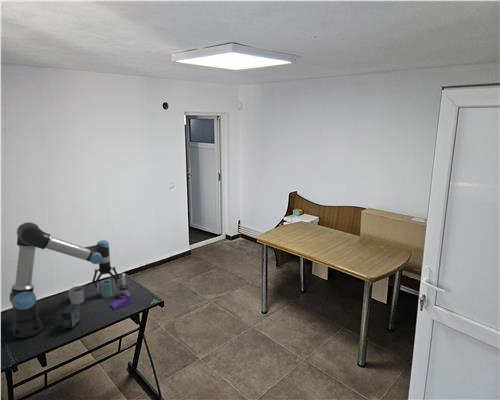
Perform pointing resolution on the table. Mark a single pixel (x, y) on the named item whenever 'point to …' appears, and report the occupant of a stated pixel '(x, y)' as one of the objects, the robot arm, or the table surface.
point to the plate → (122, 296)
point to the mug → (76, 295)
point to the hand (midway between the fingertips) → (106, 289)
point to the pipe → (123, 284)
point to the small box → (71, 316)
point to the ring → (123, 287)
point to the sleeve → (106, 288)
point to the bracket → (122, 302)
